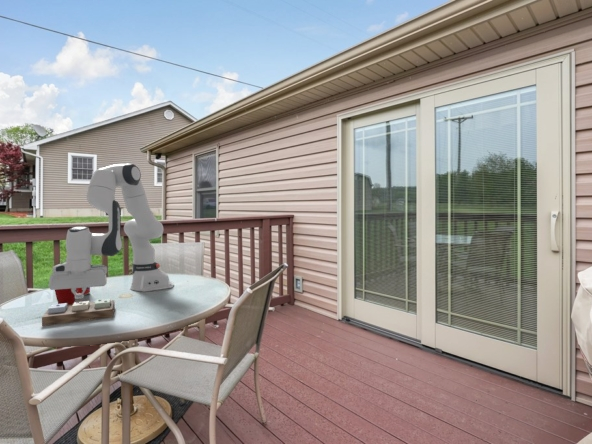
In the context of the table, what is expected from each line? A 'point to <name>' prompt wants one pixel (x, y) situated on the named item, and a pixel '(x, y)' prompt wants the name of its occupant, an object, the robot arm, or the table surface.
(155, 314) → the table surface
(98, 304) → the tile two dots
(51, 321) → the keypad board
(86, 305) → the tile three dots
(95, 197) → the robot arm
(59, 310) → the tile one dot
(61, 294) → the plastic cup
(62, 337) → the table surface
